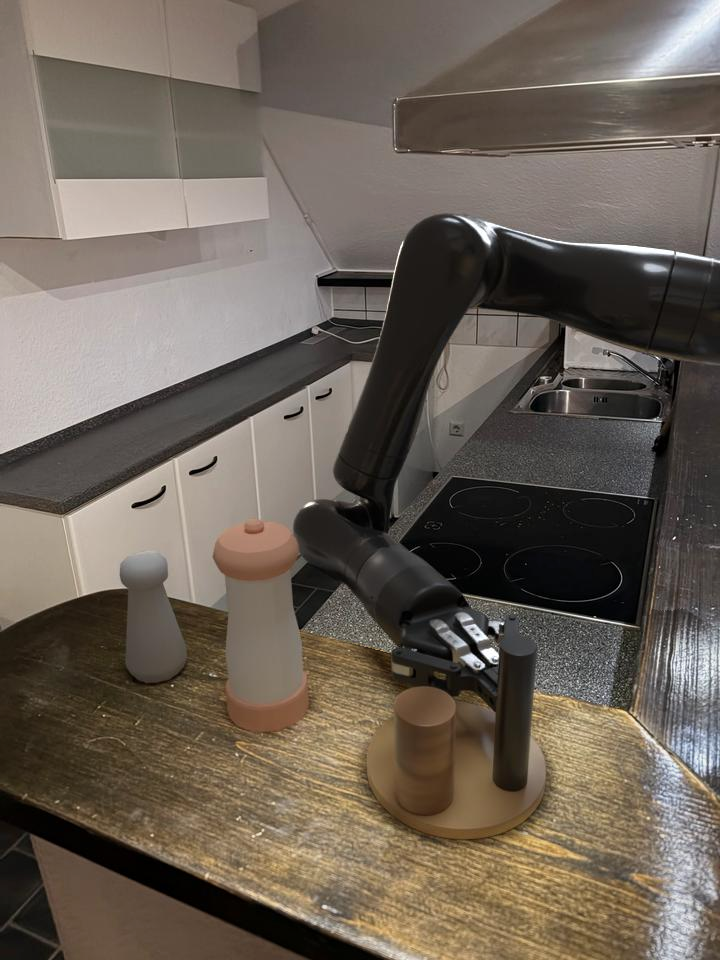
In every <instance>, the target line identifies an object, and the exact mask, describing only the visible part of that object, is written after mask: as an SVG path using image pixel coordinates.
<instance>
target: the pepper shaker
mask: <svg viewBox="0 0 720 960" xmlns="http://www.w3.org/2000/svg"><path fill="white" fill-rule="evenodd" d="M299 554H300V553H299V545H298V542H297V540H296V538H295V536H294V535H293V532H292V531H290V529H289V528H288V527H287V526H285V525H283V524H281V523H277V522H273V521H267V520H266V521H265V520H261V519H260V518H250V519H247V520H246V521H245V522H241V523H239V524H235V525H233V526H230V527H228V528H227V529H225V530H223V531H222V533H220V535H219V536H218V537H217V539H216V541H215V543H214V547H213V551H212V559H213V561H214V563H215V565H216V568H218V570H219V572H220V573H221V574H223V575H224V582H225V593H226V605H227V627H226V641H225V653H224V655H225V662H226V669H227V680H226V681H225V689H224V690H225V699H226V701H225V702H226V710H227V714H228V717H229V719H230V720H231V721H232V723H234V724H235V725H236V726H237V727H239V728H242V729H244V730H247V731H251V732H258V733H266V732H267V733H269V732H276V731H280V730H282V729H286V728H289V727H291V726H292V725H294V724H296V723H297V722H298V721H300V720H301V719H302V718H303V716H305V715H306V713H307V710H308V709H309V707H310V702H309V700H310V699H309V684H308V683H309V682H308V675H307V673H306V672H305V670H304V666H303V641H302V637H301V633H300V629H299V625H298V620H297V615H296V612H295V609H294V602H293V588H292V574H291V573H292V571H291V569H292V568H293V567H294V565H295V564H296V561H297V560H298V556H299Z"/></svg>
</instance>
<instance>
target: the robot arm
mask: <svg viewBox="0 0 720 960" xmlns="http://www.w3.org/2000/svg"><path fill="white" fill-rule="evenodd" d="M395 262H396V263H395V267H394V270H393V276H392V281H391V284H390V290H389V296H388V301H387V305H386V310H385V315H384V319H383V323H382V327H381V331H380V334H379V339H378V342H377V345H376V349H375V353H374V356H373V358H372V361H371V365H370V368H369V371H368V374H367V377H366V379H365V382H364V385H363V388H362V390H361V392H360V396H359V398H358V401H357V403H356V405H355V408H354V411H353V413H352V415H351V418H350V421H349V423H348V426H347V428H346V431H345V434H344V436H343V438H342V441H341V444H340V447H339V450H338V452H337V453H336V457H335V460H334V463H333V466H332V475H333V478H334V481H335V482H336V483H337V485H339V486H340V487H341V488H342V489H343V490H345V491H347V492H349V493H351V494H353V495H355V496H357V497H358V499H357V501H356V502H352V501H344V500H335V499H329V498H327V499H326V498H316V499H312V500H310V501H308V502H306V503H305V504H303V505H302V506H301V507H300V508H299V509H298V511H297V513H296V515H295V516H294V519H293V524H292V534H293V535H294V536H295V538H296V540H297V542H298V545H299V553H298V554H299V555H300V556H301V557H302V558H303V559H304V560H305V561H306V562H307V563H308V564H309V565H310V566H312V567H313V568H315V569H316V570H318V571H320V572H322V573H323V574H325V575H326V576H327V577H330V578H331V579H333V580H335V581H337V582H340V583H342V584H344V585H345V586H347V588H348V590H349V591H351V593H352V594H353V595H354V596H355V597H356V598H357V599H358V600H359V602H361V604H362V606H363V607H364V609H365V610H366V612H367V614H368V615H369V616H370V617H371V619H372V620H373V621H374V622H375V623H376V624H377V625H378V626H379V628H380V629H381V630H382V631H383V632H384V633H385V634H386V635H387V637H388V638H389V639H390V640H391V641H392V643H394V644H395V646H396V647H395V648H393V649H392V650H391V678H392V680H394V681H397V682H400V683H404V684H407V685H411V686H413V687H419V686H428V687H434V688H438V689H440V690H443V691H445V692H446V693H448V694H449V695H450V696H451V697H452V698H454V697H455V698H456V697H458V696H460V695H461V693H462V692H466V691H468V692H469V693H471V694H472V695H474V696H478V697H479V698H480V699H481V700H482V701H483V702H484V703H485V704H486V705H487V706H488V707H489V708H490V709H492V710H493V711H494V712H496V699H497V680H498V661H499V652H497V651H496V650H495V649H494V647H493V646H492V643H491V640H490V638H489V636H491V637H493V640H494V642H496V643H497V647H498V648H499V643H500V641H501V639H502V638H504V637H506V636H509V635H519V628H520V617H519V616H517V615H515V614H507V615H505V617H504V621H498V620H490V619H489V617H488V616H487V614H485V613H483V612H481V611H479V610H476V609H473V608H472V607H471V605H470V604H469V603H468V601H467V599H466V598H465V595H464V594H463V592H461V590H460V589H458V588H457V587H456V586H455V585H454V584H453V583H452V582H450V581H449V580H448V579H446V577H444V575H442V574H441V573H440V572H439V571H437V570H436V569H435V568H434V567H433V566H432V565H430V564H429V563H428V562H427V561H426V560H424V559H423V558H422V557H420V556H419V555H417V554H415V553H413V552H412V551H410V550H409V549H408V548H407V547H405V546H404V544H402V543H401V542H400V541H399V540H398V539H396V538H395V537H394V536H392V535H391V534H389V531H390V519H391V512H392V507H393V506H392V505H393V500H394V499H393V498H394V493H395V486H396V483H397V481H398V478H399V477H400V474H401V472H402V470H403V467H404V465H405V462H406V460H407V458H408V455H409V453H410V450H411V448H412V446H413V443H414V441H415V438H416V435H417V432H418V429H419V426H420V423H421V419H422V415H423V410H424V407H425V402H426V399H427V395H428V391H429V388H430V385H431V381H432V378H433V376H434V374H435V371H436V367H437V366H438V363H439V361H440V360H441V359H440V358H441V357H442V354H443V352H444V350H445V348H446V346H447V345H448V343H449V341H450V339H451V338H452V336H453V334H454V332H455V331H456V330H457V328H458V326H459V325H460V323H461V322H462V320H463V318H464V317H465V315H466V314H467V312H468V311H469V310H490V311H497V312H498V311H499V312H505V313H514V314H522V315H527V316H533V317H538V318H542V319H546V320H549V321H552V322H555V323H558V324H560V325H563V326H566V327H567V328H570V329H573V330H574V331H577V332H580V333H582V334H584V335H586V336H590V337H592V338H594V339H597V340H600V341H603V342H605V343H608V344H611V345H614V346H616V347H620V348H623V349H627V350H630V351H633V352H637V353H641V354H647V355H651V356H655V357H659V358H665V359H669V360H674V361H678V362H679V361H680V362H685V363H689V364H695V365H696V364H697V365H705V366H720V258H715V257H710V256H704V255H699V254H698V255H697V254H692V253H686V252H681V251H675V250H670V249H662V248H653V247H646V246H645V247H643V246H634V245H622V244H606V243H605V244H604V243H581V242H580V243H578V242H567V241H560V240H554V239H550V238H545V237H541V236H536V235H533V234H529V233H526V232H522V231H519V230H515V229H513V228H510V227H509V228H508V227H506V226H505V227H504V226H502V225H498V224H495V223H493V222H490V221H486V220H485V219H481V218H479V217H476V216H473V215H469V214H465V213H456V212H455V213H453V212H444V213H437V214H436V213H435V214H432V215H430V216H428V217H425V218H423V219H421V220H420V221H418V222H417V223H416V224H414V225H413V227H412V228H411V229H409V230H408V232H407V233H406V235H405V237H404V238H403V239H402V242H401V244H400V246H399V250H398V254H397V258H396V261H395ZM435 672H436V673H438V674H439V673H440V674H443V675H445V679H443V678H440V677H437V676H436V675H435Z"/></svg>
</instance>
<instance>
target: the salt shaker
mask: <svg viewBox="0 0 720 960" xmlns="http://www.w3.org/2000/svg"><path fill="white" fill-rule="evenodd" d="M119 577H120V578H119V579H120V582H121V584H122V586H124V587H125V588H126V589H128V590H127V613H126V614H127V615H126V634H125V635H126V636H125V637H126V639H125V660H124V661H125V662H124V664H125V666H126V670H127V671H128V672H129V673H130V675H131V676H132V677H134V678H135V679H136V680H137V681H139V682H143V683H145V684H151V683H162V682H164V681H168V680H169V681H170V680H171V679H173V677H175V676H177V675H178V674H179V673H180V672H181V671H182V669H183V668H185V665H186V662H187V660H188V650H187V644H186V642H185V639H184V637H183V633H182V631H181V629H180V626H179V623H178V621H177V617H176V615H175V613H174V609H173V607H172V604H171V602H170V599H169V597H168V593H167V591H166V588H165V584H164V583H165V581H167V579H168V577H169V566H168V562H167V559H166V557H165V556H164V555H163V554H161V553H159V552H156V551H151V550H150V551H147V550H146V551H145V550H144V551H143V550H142V551H139V552H134V553H132V554H130V555H128V556H126V557H125V558H124V559H123V560H122V561H121V562H120V563H119Z"/></svg>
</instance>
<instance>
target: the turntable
mask: <svg viewBox="0 0 720 960" xmlns="http://www.w3.org/2000/svg"><path fill="white" fill-rule="evenodd" d="M498 654H499V661H498V680H497V699H496V712H494V711H493V710H492V709H491V708H490V707H487V706H484V705H483V706H482V705H479V704H474V703H469V702H462V701H455V699H454V697H452V696H450V695H449V694H448V693H446V692H445V691H443V690H440V689H438V688H434V687H428V686H419V687H417V686H413V687H410V688H407V689H405V690H403V691H402V692H399V694H398V695H397V696H396V698H395V700H394V702H393V716H391V717H390V718H389V719H387V720H386V721H385V722H383V723H382V725H381V726H380V727H379V728H378V729H377V730H376V731H375V732H374V734H373V736H372V737H371V739H370V742H369V744H368V748H367V751H366V777H367V781H368V784H369V787H370V789H371V792H372V794H373V795H374V797H375V799H376V800H377V802H378V803H379V804H380V805H381V806H382V808H383V809H385V811H386V812H387V813H389V814H390V815H391V816H392V817H393V818H395V819H396V820H397V821H399V822H401V823H402V824H404V825H406V826H408V827H410V828H412V829H413V830H416V831H419V832H422V833H424V834H426V835H427V834H428V835H431V836H434V837H438V838H445V839H452V840H477V839H483V838H489V837H493V836H497V835H500V834H503V833H505V832H507V831H510V830H512V829H514V828H516V827H518V826H519V825H521V824H522V823H523V822H524V821H526V820H527V819H528V818H530V817H531V815H532V814H533V813H534V812H535V811H536V810H537V808H538V806H539V805H540V803H541V802H542V799H543V798H544V794H545V791H546V790H545V789H546V784H547V763H546V758H545V756H544V753H543V751H542V749H541V747H540V745H539V743H538V742H537V740H536V739H535V737H533V734H532V721H533V708H534V696H535V681H536V670H537V655H538V645H537V643H536V641H535V640H533V639H532V638H531V637H528V636H526V635H522V634H518V635H509V636H506V637H504V638H502V639H501V641H500V643H499V647H498Z"/></svg>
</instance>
